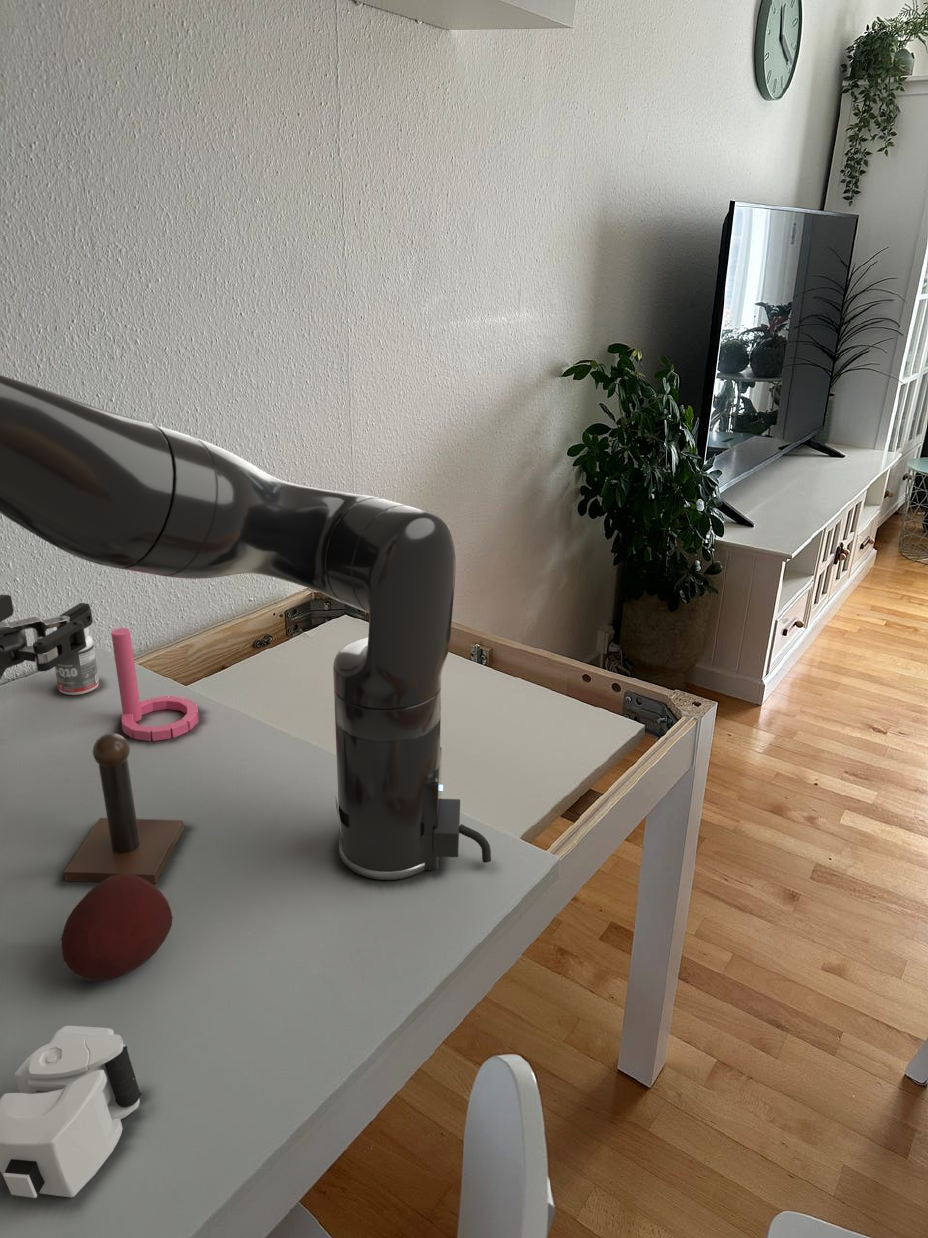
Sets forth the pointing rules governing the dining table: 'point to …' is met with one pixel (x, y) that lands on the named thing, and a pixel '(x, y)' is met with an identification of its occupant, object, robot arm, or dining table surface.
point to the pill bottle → (78, 670)
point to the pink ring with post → (136, 708)
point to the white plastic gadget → (66, 1112)
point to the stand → (122, 826)
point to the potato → (115, 928)
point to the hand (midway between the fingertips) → (47, 607)
